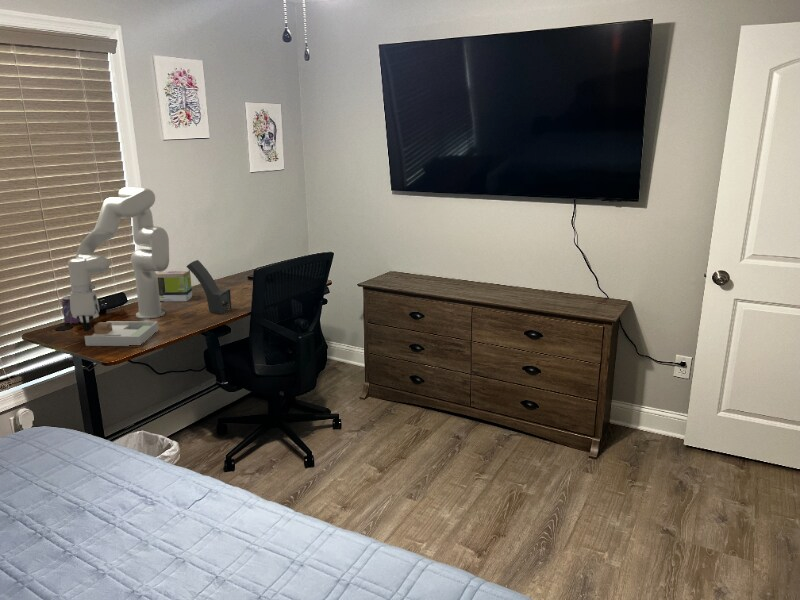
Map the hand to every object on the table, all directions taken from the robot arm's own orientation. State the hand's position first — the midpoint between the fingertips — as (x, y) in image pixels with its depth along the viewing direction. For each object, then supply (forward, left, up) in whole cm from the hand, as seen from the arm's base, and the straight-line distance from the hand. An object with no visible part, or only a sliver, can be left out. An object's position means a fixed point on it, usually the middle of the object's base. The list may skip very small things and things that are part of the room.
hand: (87, 330), depth 254 cm
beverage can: (-20, -16, -3) cm, 26 cm away
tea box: (-60, +16, -3) cm, 62 cm away
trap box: (0, +15, -3) cm, 15 cm away
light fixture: (-40, +40, -3) cm, 56 cm away
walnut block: (0, +7, -1) cm, 7 cm away
